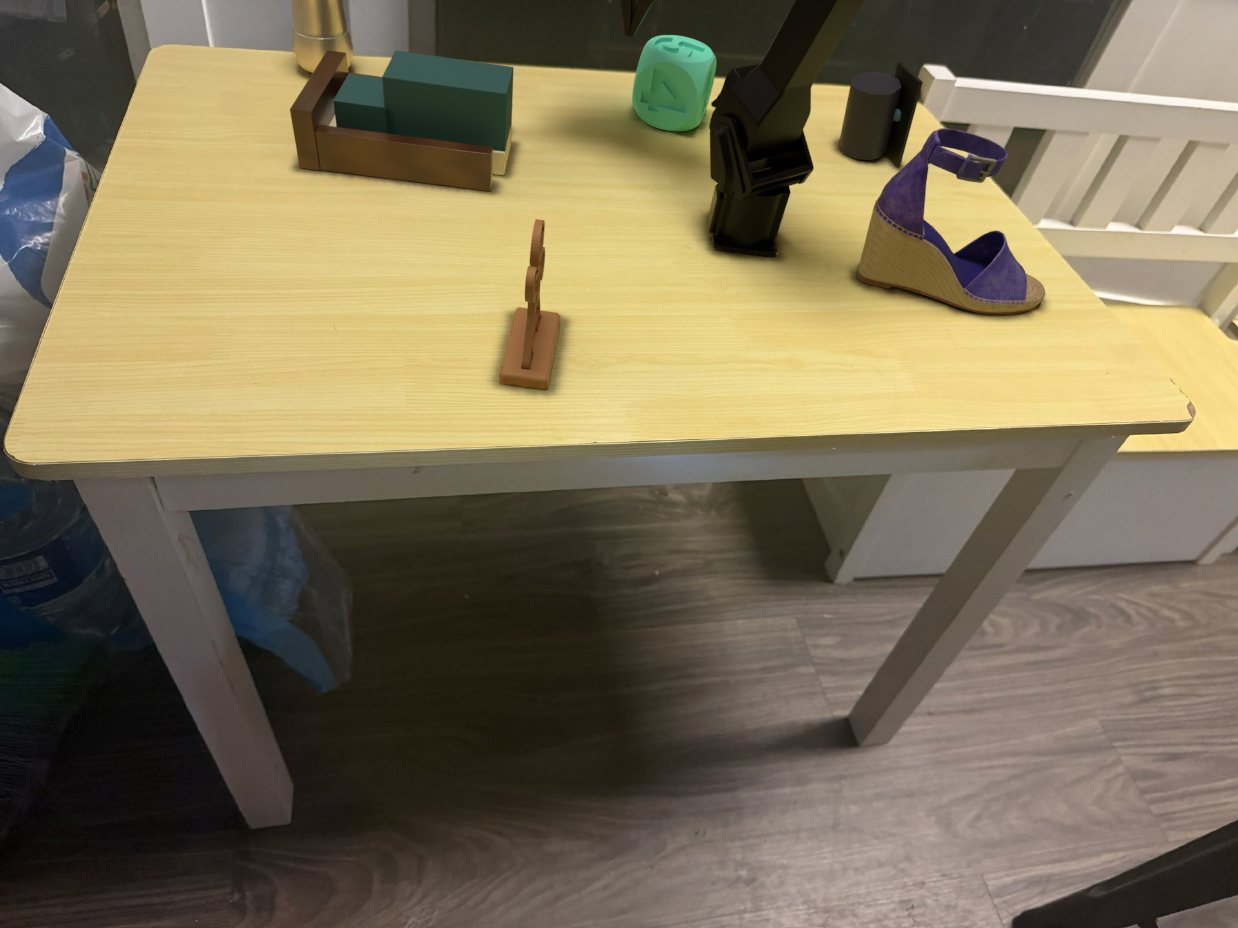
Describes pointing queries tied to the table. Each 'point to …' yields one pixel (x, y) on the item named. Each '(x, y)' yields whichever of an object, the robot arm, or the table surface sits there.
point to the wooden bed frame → (377, 141)
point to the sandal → (919, 253)
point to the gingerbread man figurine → (531, 328)
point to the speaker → (880, 114)
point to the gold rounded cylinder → (319, 31)
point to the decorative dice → (673, 82)
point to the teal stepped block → (433, 102)
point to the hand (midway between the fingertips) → (629, 36)
